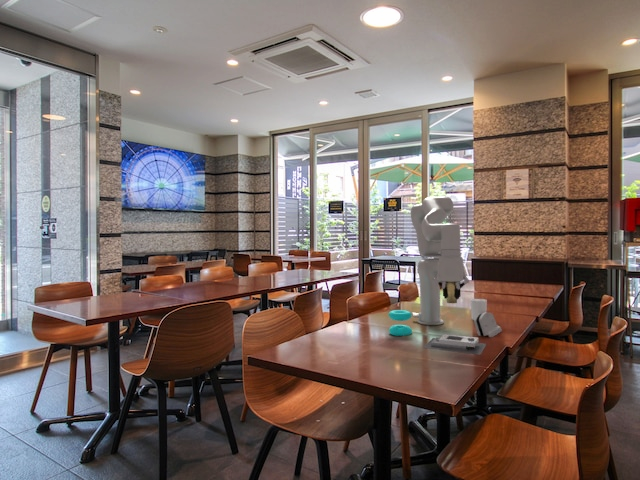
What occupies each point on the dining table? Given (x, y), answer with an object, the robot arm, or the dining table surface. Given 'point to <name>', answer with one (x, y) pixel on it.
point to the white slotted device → (486, 325)
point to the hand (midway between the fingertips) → (451, 298)
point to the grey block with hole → (455, 342)
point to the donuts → (400, 316)
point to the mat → (475, 350)
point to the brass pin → (451, 292)
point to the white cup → (478, 307)
